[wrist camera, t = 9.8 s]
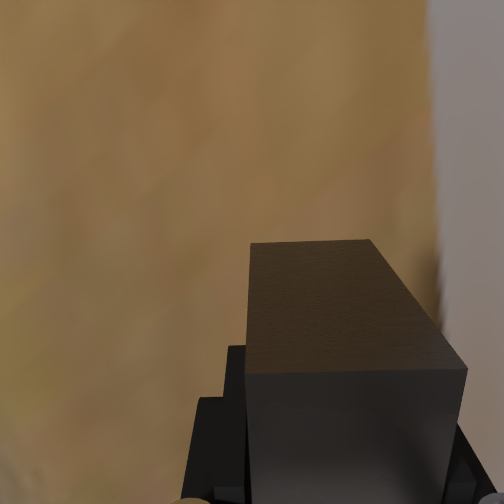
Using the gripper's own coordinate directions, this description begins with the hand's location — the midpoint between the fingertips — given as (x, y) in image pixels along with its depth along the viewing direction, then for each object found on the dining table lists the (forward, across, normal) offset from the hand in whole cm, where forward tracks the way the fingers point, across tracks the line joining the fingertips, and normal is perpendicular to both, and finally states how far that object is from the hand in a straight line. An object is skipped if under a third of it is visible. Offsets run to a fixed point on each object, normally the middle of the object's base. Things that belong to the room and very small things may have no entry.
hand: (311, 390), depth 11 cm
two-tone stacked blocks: (+1, 0, +3) cm, 3 cm away
